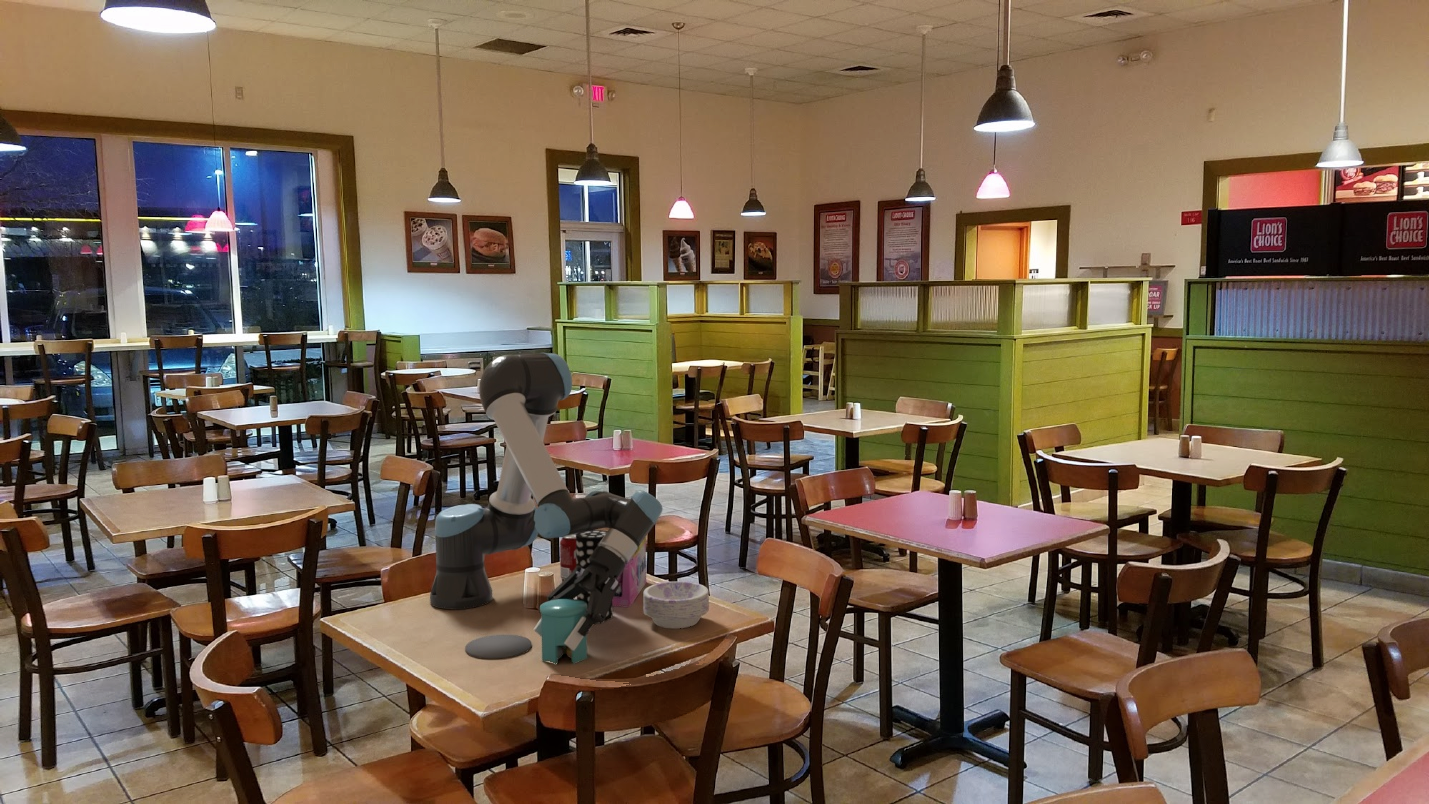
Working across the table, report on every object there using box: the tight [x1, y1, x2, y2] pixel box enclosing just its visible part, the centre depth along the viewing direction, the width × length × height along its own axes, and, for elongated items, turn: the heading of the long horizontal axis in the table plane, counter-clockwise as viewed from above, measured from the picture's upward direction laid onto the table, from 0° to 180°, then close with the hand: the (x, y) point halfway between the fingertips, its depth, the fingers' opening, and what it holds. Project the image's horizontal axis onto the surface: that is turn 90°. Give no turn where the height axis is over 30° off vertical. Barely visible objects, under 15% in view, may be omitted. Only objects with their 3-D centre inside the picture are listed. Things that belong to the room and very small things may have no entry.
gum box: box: [612, 536, 647, 608], centre depth 262 cm, size 24×8×14 cm, turn 174°
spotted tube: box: [576, 529, 614, 622], centre depth 243 cm, size 8×8×20 cm
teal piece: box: [539, 598, 588, 665], centre depth 216 cm, size 10×10×11 cm
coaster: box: [464, 633, 532, 660], centre depth 222 cm, size 14×14×1 cm
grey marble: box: [557, 646, 564, 660], centre depth 215 cm, size 3×3×3 cm
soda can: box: [559, 533, 577, 581], centre depth 276 cm, size 7×7×12 cm
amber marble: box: [565, 646, 572, 659], centre depth 216 cm, size 3×3×3 cm
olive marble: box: [561, 645, 567, 655], centre depth 219 cm, size 3×3×3 cm
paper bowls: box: [642, 581, 710, 630], centre depth 239 cm, size 15×15×8 cm
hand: (553, 640), depth 215 cm, fingers open, 11 cm apart
